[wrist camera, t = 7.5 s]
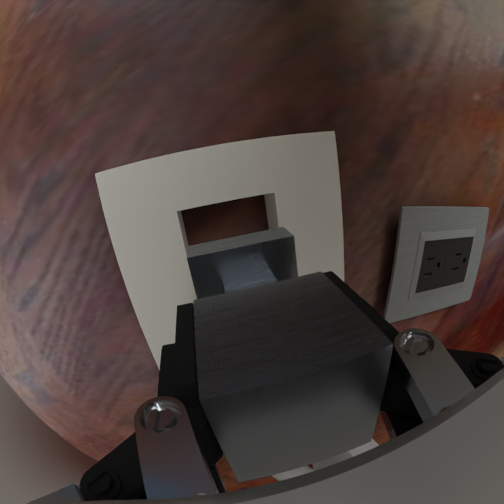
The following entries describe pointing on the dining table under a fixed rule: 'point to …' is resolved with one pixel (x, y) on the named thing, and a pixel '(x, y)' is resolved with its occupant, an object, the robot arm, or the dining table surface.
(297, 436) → the keyhole peg
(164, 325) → the keyhole plate
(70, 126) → the dining table surface
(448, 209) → the electrical outlet
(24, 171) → the dining table surface
